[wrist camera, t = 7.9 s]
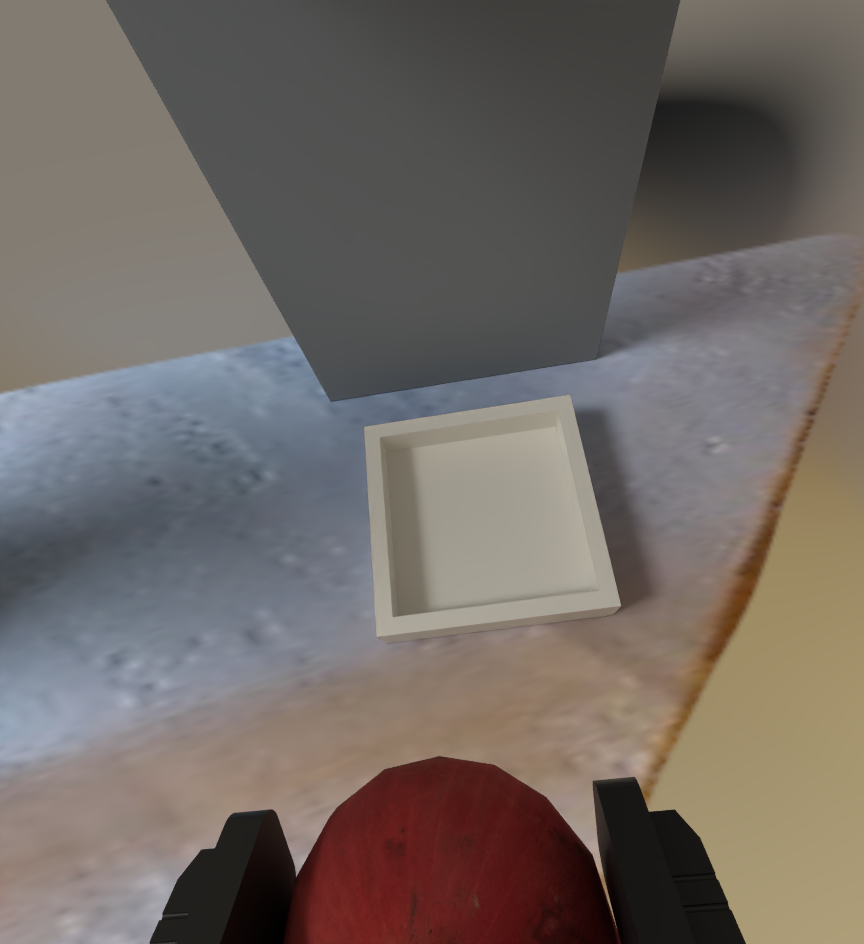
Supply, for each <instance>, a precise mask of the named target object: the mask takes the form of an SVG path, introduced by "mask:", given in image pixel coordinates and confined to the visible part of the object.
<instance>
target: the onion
mask: <svg viewBox="0 0 864 944" xmlns="http://www.w3.org/2000/svg"><path fill="white" fill-rule="evenodd" d="M282 944H621V943H620V938H619V934H618V931H617V928H616V925H615V922H614V919H613V916H612V913H611V910H610V906H609V903H608V900H607V897H606V894H605V891H604V888H603V885H602V882H601V879H600V876H599V873H598V870H597V867H596V864H595V861H594V858H593V855H592V854H591V852H590V851H589V850H588V849H587V847H586V846H585V845H584V844H583V842H582V841H581V840H580V839H579V837H578V836H577V835H576V834H575V832H574V831H573V830H572V829H571V827H570V826H569V825H568V824H567V822H566V821H565V820H564V819H563V817H562V816H561V815H560V814H559V812H558V811H557V810H556V809H555V807H554V806H553V805H552V804H551V802H550V801H549V800H548V799H547V797H545V796H544V795H542V794H540V793H539V792H537V791H536V790H534V789H532V788H531V787H529V786H527V785H526V784H524V783H523V782H521V781H519V780H518V779H516V778H515V777H513V776H511V775H510V774H508V773H507V772H505V771H503V770H502V769H500V768H499V767H497V766H495V765H492V764H486V763H479V762H473V761H467V760H460V759H454V758H448V757H441V756H438V757H434V758H430V759H426V760H422V761H417V762H413V763H409V764H405V765H401V766H397V767H392V768H388V769H385V770H383V771H382V772H381V773H380V774H378V775H377V776H376V777H375V778H373V779H372V780H371V781H370V782H368V783H367V784H366V785H365V786H363V787H362V788H361V789H360V790H358V791H357V792H356V793H355V794H353V795H352V796H351V797H350V798H348V799H347V800H346V801H345V802H343V803H342V804H341V805H340V806H338V807H337V808H336V810H335V811H334V812H333V814H332V815H331V816H330V818H329V819H328V821H327V823H326V825H325V827H324V828H323V830H322V832H321V834H320V836H319V837H318V839H317V841H316V843H315V845H314V846H313V848H312V850H311V852H310V854H309V855H308V857H307V859H306V861H305V863H304V864H303V866H302V868H301V870H300V872H299V873H298V875H297V877H296V880H295V885H294V890H293V895H292V900H291V905H290V909H289V914H288V919H287V924H286V929H285V934H284V939H283V943H282Z"/></svg>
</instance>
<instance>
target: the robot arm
mask: <svg viewBox="0 0 864 944" xmlns="http://www.w3.org/2000/svg"><path fill="white" fill-rule="evenodd" d="M593 793H594V804H595V815H596V825H597V836H598V845H599V852H600V857H601V863H602V868H603V873H604V877H605V882H606V886H607V890H608V894H609V898H610V902H611V906H612V910H613V914H614V918H615V922H616V926H617V930H618V934H619V938H620V943H621V944H746V943H745V941H744V938H743V936H742V934H741V932H740V929H739V927H738V924H737V922H736V920H735V918H734V915H733V913H732V911H731V910H730V909H729V906H728V901H727V899H726V897H725V894H724V892H723V890H722V888H721V886H720V883H719V881H718V880H717V878H716V876H715V872H714V869H713V867H712V864H711V862H710V860H709V857H708V855H707V853H706V850H705V848H704V846H703V844H702V841H701V839H700V837H699V836H698V835H697V834H696V833H695V832H694V831H693V829H692V828H691V827H690V826H689V825H688V824H687V823H686V822H685V821H684V819H683V818H682V817H681V816H680V815H679V814H678V813H677V812H676V810H665V811H654V812H649V811H648V809H647V806H646V803H645V800H644V797H643V795H642V792H641V789H640V786H639V784H638V782H637V780H636V778H635V777H629V778H618V779H608V780H597V781H593ZM295 880H296V871H295V866H294V862H293V859H292V856H291V853H290V851H289V848H288V845H287V842H286V839H285V836H284V833H283V830H282V828H281V825H280V822H279V819H278V816H277V814H276V812H275V811H274V810H261V811H250V812H239V813H233V814H232V815H230V817H229V818H228V819H227V821H226V823H225V825H224V828H223V830H222V832H221V835H220V837H219V840H218V842H217V845H216V847H215V848H214V849H203V850H201V851H200V852H199V853H198V855H197V856H196V857H195V858H194V860H193V861H192V862H191V863H190V865H189V866H188V867H187V868H186V870H185V871H184V872H183V874H182V875H181V876H180V877H179V879H178V880H177V882H176V884H175V887H174V889H173V891H172V893H171V896H170V898H169V900H168V902H167V904H166V907H165V909H164V911H163V913H162V914H163V917H162V920H159V922H158V924H157V927H156V929H155V931H154V933H153V936H152V938H151V940H150V944H282V943H283V939H284V934H285V929H286V924H287V919H288V914H289V909H290V905H291V900H292V895H293V890H294V885H295Z"/></svg>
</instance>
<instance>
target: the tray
mask: <svg viewBox="0 0 864 944" xmlns="http://www.w3.org/2000/svg"><path fill="white" fill-rule="evenodd" d="M364 434H365V451H366V468H367V484H368V501H369V518H370V534H371V551H372V567H373V584H374V601H375V617H376V634H377V637H378V638H379V639H381V640H382V641H384V642H385V643H394V642H402V641H410V640H418V639H426V638H434V637H442V636H450V635H458V634H466V633H473V632H481V631H489V630H497V629H505V628H513V627H521V626H529V625H537V624H545V623H553V622H561V621H569V620H577V619H585V618H593V617H601V616H608V615H613V614H614V613H615V612H616V611H617V610H618V609H619V608H620V607H621V603H620V599H619V595H618V591H617V586H616V582H615V578H614V574H613V570H612V566H611V562H610V557H609V553H608V549H607V545H606V541H605V537H604V533H603V528H602V524H601V520H600V516H599V512H598V508H597V504H596V499H595V495H594V491H593V487H592V483H591V479H590V475H589V470H588V466H587V462H586V458H585V454H584V450H583V446H582V441H581V437H580V433H579V429H578V425H577V421H576V417H575V413H574V408H573V404H572V400H571V396H570V395H565V396H558V397H552V398H546V399H539V400H533V401H526V402H520V403H513V404H507V405H500V406H494V407H488V408H481V409H475V410H468V411H462V412H455V413H449V414H442V415H436V416H429V417H423V418H417V419H410V420H404V421H397V422H391V423H384V424H378V425H371V426H365V427H364Z"/></svg>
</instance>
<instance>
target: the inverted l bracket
mask: <svg viewBox="0 0 864 944" xmlns="http://www.w3.org/2000/svg"><path fill="white" fill-rule="evenodd" d="M106 1H107V3H108V4H109V6H110V8H111V10H112V11H113V13H114V15H115V17H116V19H117V21H118V22H119V24H120V26H121V28H122V29H123V31H124V33H125V35H126V37H127V38H128V40H129V42H130V44H131V45H132V47H133V49H134V51H135V53H136V55H137V56H138V58H139V60H140V61H141V63H142V65H143V67H144V69H145V71H146V72H147V74H148V76H149V77H150V80H151V81H152V83H153V85H154V87H155V89H156V90H157V92H158V94H159V96H160V97H161V99H162V101H163V103H164V105H165V106H166V108H167V110H168V112H169V114H170V115H171V117H172V119H173V120H174V122H175V124H176V126H177V128H178V130H179V131H180V133H181V135H182V137H183V139H184V140H185V142H186V144H187V146H188V148H189V149H190V151H191V153H192V155H193V156H194V158H195V160H196V162H197V163H198V165H199V167H200V169H201V171H202V173H203V174H204V176H205V178H206V180H207V181H208V183H209V185H210V187H211V188H212V190H213V192H214V194H215V196H216V198H217V199H218V201H219V203H220V204H221V207H222V208H223V210H224V212H225V214H226V215H227V217H228V219H229V221H230V223H231V224H232V226H233V228H234V230H235V232H236V233H237V235H238V237H239V239H240V240H241V242H242V244H243V246H244V248H245V249H246V251H247V253H248V255H249V257H250V258H251V260H252V262H253V264H254V266H255V267H256V269H257V271H258V273H259V274H260V276H261V278H262V280H263V282H264V283H265V285H266V287H267V289H268V291H269V292H270V294H271V296H272V297H273V299H274V301H275V303H276V305H277V307H278V308H279V310H280V312H281V314H282V316H283V317H284V319H285V321H286V323H287V324H288V326H289V328H290V330H291V332H292V333H293V335H294V337H295V339H296V341H297V342H298V344H299V346H300V348H301V350H302V351H303V353H304V355H305V357H306V358H307V360H308V362H309V364H310V366H311V367H312V369H313V371H314V373H315V375H316V376H317V378H318V380H319V382H320V384H321V385H322V387H323V389H324V391H325V392H326V394H327V396H328V398H329V400H330V401H336V400H342V399H349V398H355V397H361V396H367V395H374V394H380V393H386V392H393V391H399V390H405V389H411V388H418V387H424V386H430V385H437V384H443V383H449V382H455V381H462V380H468V379H474V378H481V377H487V376H493V375H499V374H506V373H512V372H518V371H525V370H531V369H537V368H543V367H550V366H556V365H562V364H569V363H575V362H581V361H587V360H594V359H597V355H598V350H599V346H600V342H601V338H602V333H603V329H604V325H605V320H606V316H607V312H608V308H609V303H610V299H611V295H612V290H613V286H614V282H615V278H616V273H617V269H618V265H619V260H620V256H621V252H622V247H623V243H624V239H625V235H626V230H627V226H628V222H629V217H630V213H631V209H632V205H633V200H634V196H635V191H636V187H637V183H638V179H639V175H640V170H641V166H642V162H643V157H644V153H645V149H646V145H647V140H648V136H649V131H650V127H651V123H652V119H653V115H654V110H655V106H656V102H657V97H658V93H659V89H660V85H661V80H662V76H663V71H664V67H665V63H666V59H667V55H668V50H669V46H670V42H671V37H672V33H673V29H674V25H675V20H676V16H677V12H678V7H679V3H680V0H106Z"/></svg>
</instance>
